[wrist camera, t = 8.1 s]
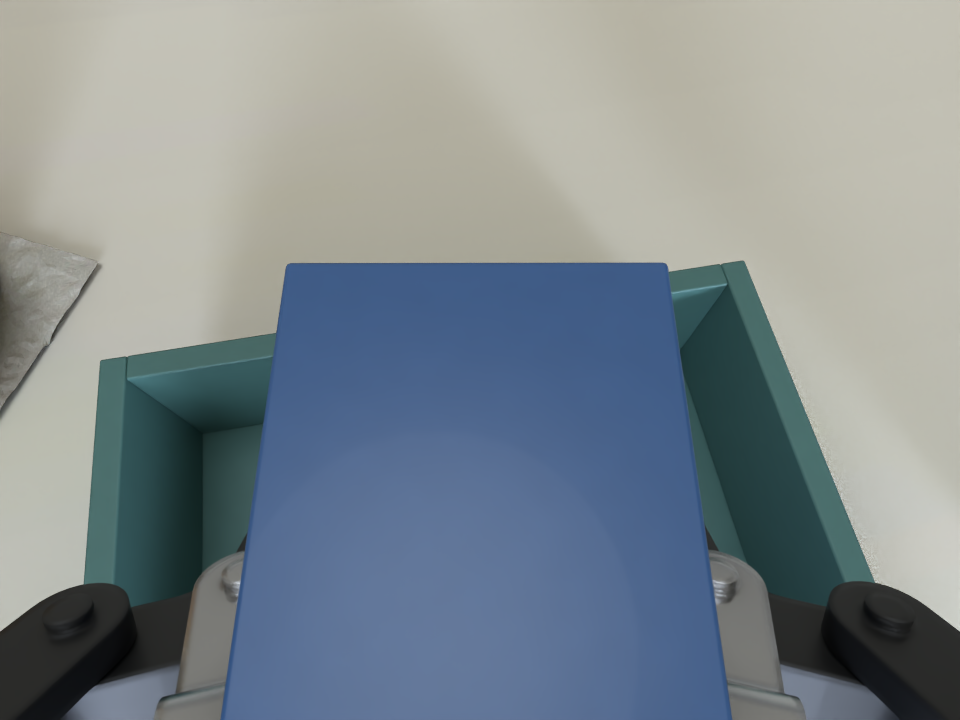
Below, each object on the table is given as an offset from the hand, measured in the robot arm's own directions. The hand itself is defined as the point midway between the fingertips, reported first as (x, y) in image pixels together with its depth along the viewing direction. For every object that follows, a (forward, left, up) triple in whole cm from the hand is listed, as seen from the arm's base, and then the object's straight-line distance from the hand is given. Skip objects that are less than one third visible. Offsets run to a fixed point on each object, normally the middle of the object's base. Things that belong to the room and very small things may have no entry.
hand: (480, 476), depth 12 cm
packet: (0, -2, -4) cm, 5 cm away
